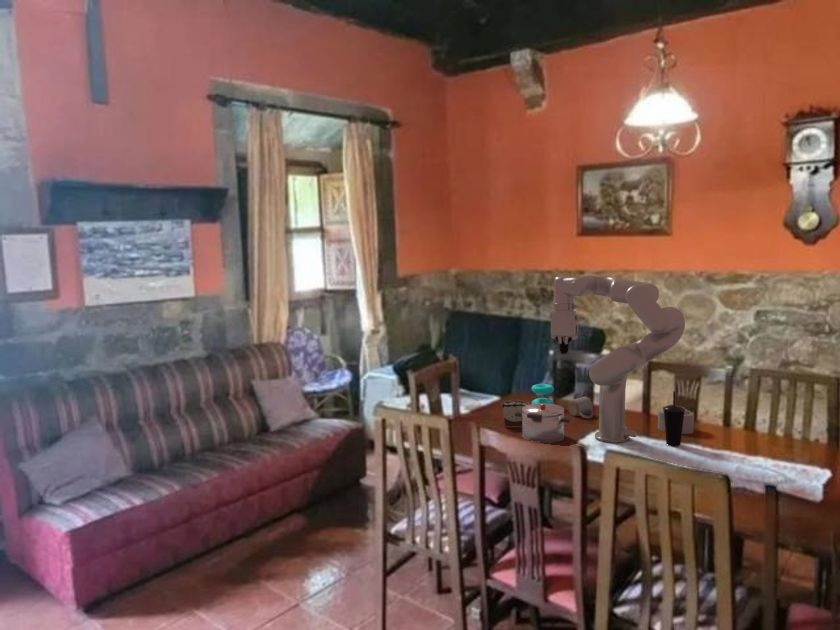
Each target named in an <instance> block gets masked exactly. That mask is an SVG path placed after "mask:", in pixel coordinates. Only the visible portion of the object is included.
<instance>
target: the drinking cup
mask: <svg viewBox="0 0 840 630" xmlns="http://www.w3.org/2000/svg"><path fill="white" fill-rule="evenodd" d="M672 394H673V395H672V396H673V397H672V398H673V399H672V400H673V402H672V404H669V405H665V406H663V407H662V409H663V410H664V419H665V431H664V432H665V444H666V445H667V444H668V445H667V446H669V445H671V446H670V447H680V446H681V443H682V442H681V441H682V435H683V434H682V427H683V419H684V411H685V409H686V407H684V406H680V405H678V404H676V390H673V393H672ZM683 407H684V408H683Z"/></svg>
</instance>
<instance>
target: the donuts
mask: <svg viewBox="0 0 840 630" xmlns="http://www.w3.org/2000/svg"><path fill="white" fill-rule="evenodd" d="M554 389H555V388H554V386H553V385H552V384H549V383H537V384H534V385H532V386H531V391H532V393H534V394H536V395H540V396H541V395H543V396H544V395H545V396H546V395H550V394H552V393H553V392H554ZM536 403H547V404H555V403H554V401H553V400H552V399H550V398H546V397H537V398H535V399H533V400H532V401H531V404H536Z"/></svg>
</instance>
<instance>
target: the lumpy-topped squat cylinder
mask: <svg viewBox="0 0 840 630" xmlns="http://www.w3.org/2000/svg"><path fill="white" fill-rule="evenodd" d="M682 407H683V408H685V407H684V406H682ZM694 416H695V415H694V413H693V412H692V411H689V410H688V409H686V408H685V411H684V419H683V427H682V435H691V434H693V433H694V420H695V419H694V418H695V417H694ZM657 430H660V431H662V432H665V419H664V410H663V408H661V409H659V410H658V411H657Z"/></svg>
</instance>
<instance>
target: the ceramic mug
mask: <svg viewBox="0 0 840 630" xmlns="http://www.w3.org/2000/svg"><path fill="white" fill-rule="evenodd" d="M593 408H594V407H593V403H592V400H590V398H589V397H587V396H582V397H581V396H580V397H579V398H575V399H571V400H570V401H568V404H567V409H568V412H569V414H570V415H571V416H573V417H582V418H583V419H589V418H590V419H592V418H593V417H594V416H593V415H594V411H593Z"/></svg>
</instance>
